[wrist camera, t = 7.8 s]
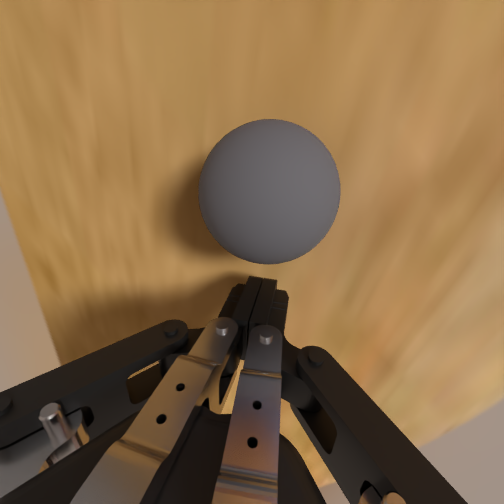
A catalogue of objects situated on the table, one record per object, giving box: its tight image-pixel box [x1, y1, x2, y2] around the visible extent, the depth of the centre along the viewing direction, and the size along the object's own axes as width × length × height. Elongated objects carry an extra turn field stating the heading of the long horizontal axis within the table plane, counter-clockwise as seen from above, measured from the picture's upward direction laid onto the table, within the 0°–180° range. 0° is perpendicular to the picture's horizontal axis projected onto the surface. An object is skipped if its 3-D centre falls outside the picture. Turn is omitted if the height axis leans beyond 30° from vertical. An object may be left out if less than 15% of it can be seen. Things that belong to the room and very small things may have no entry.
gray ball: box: [199, 119, 340, 264], centre depth 11 cm, size 6×6×6 cm
